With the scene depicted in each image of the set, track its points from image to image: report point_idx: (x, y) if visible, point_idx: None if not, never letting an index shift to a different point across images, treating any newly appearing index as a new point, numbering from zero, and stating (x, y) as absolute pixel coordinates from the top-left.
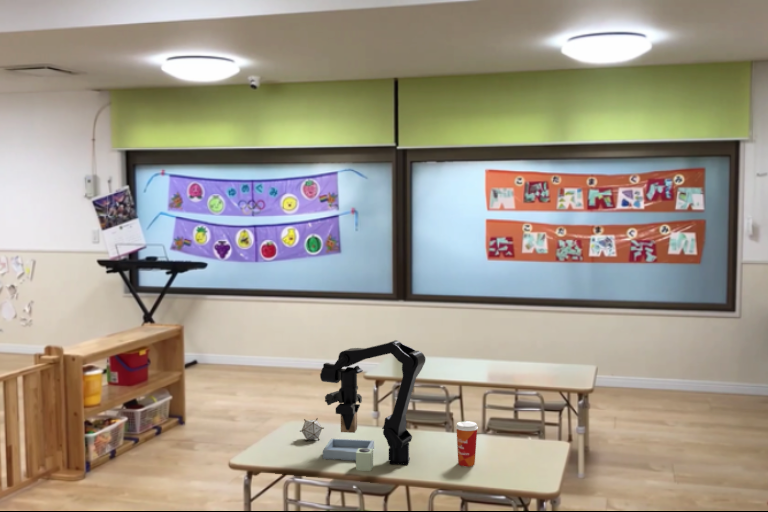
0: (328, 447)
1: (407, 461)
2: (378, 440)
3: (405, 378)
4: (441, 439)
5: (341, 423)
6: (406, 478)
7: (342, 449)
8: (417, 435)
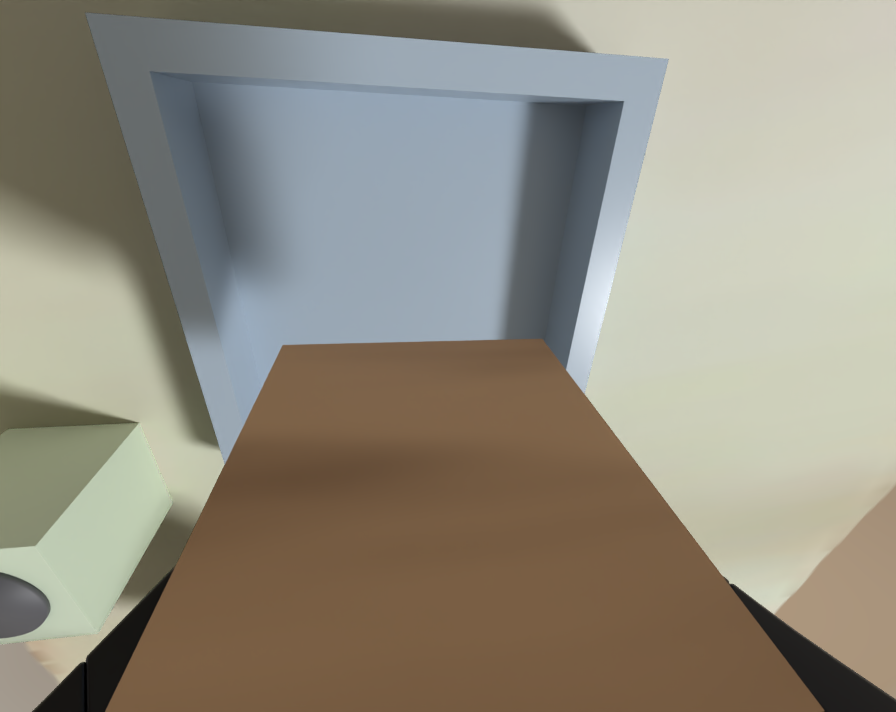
0: (315, 83)
1: None
2: (709, 433)
3: None
4: None
5: (231, 484)
6: (49, 659)
7: (470, 233)
8: (744, 569)
